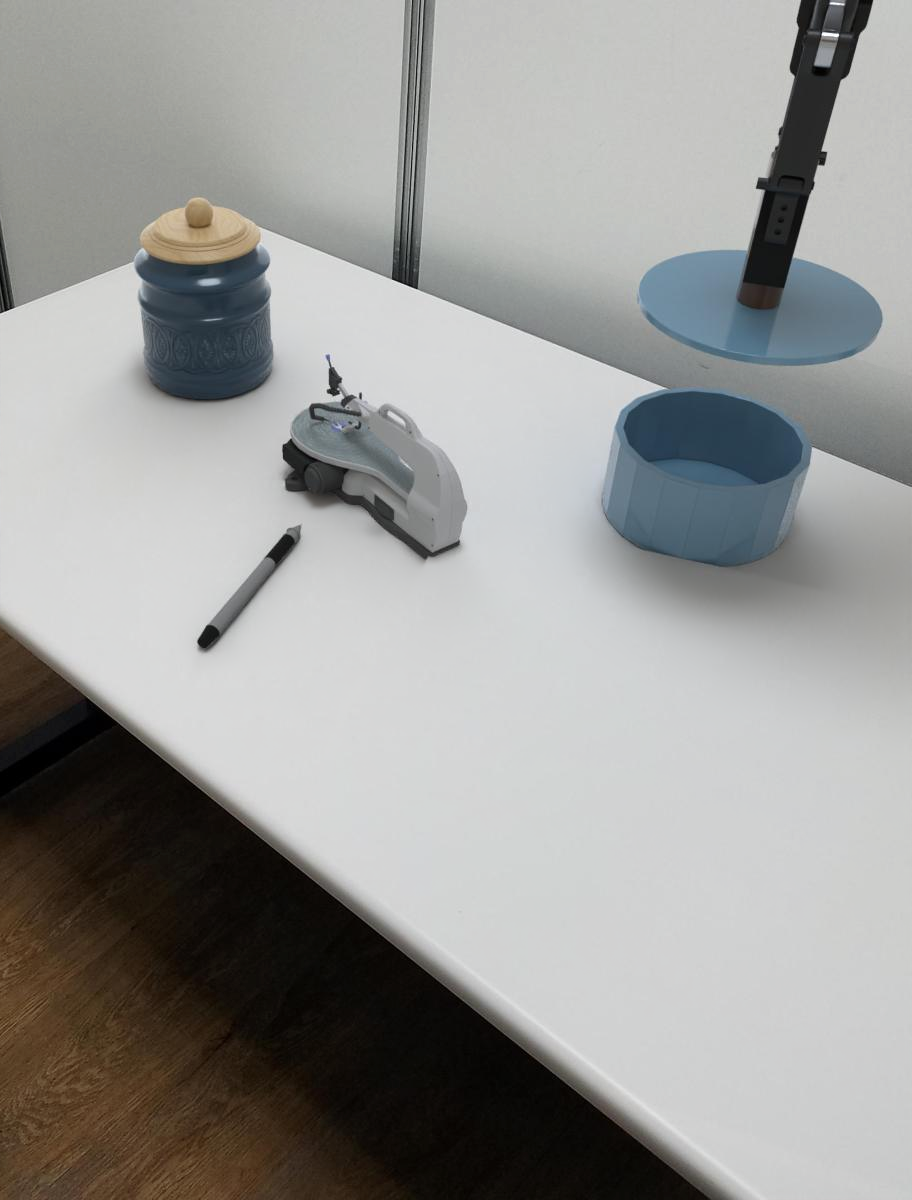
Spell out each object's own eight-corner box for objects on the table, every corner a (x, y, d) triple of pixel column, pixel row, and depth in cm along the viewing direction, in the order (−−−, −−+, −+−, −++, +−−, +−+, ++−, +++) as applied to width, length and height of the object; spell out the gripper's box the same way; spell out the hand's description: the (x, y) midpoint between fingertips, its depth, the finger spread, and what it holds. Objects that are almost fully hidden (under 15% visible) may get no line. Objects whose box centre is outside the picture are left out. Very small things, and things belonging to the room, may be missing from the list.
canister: (155, 337, 125) (138, 171, 114) (277, 339, 125) (273, 172, 113) (136, 401, 115) (116, 227, 104) (269, 403, 115) (263, 229, 103)
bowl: (794, 479, 105) (817, 406, 100) (779, 585, 94) (804, 509, 89) (619, 445, 109) (633, 373, 104) (585, 542, 98) (599, 467, 93)
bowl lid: (879, 283, 87) (930, 129, 80) (875, 393, 75) (934, 223, 68) (653, 251, 91) (682, 101, 84) (617, 349, 80) (646, 186, 73)
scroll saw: (514, 425, 92) (396, 472, 87) (501, 533, 99) (391, 582, 94) (365, 324, 105) (255, 361, 100) (363, 426, 112) (259, 465, 107)
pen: (195, 648, 89) (193, 635, 88) (295, 527, 100) (294, 515, 99) (210, 653, 88) (209, 640, 87) (308, 532, 99) (308, 519, 99)
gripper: (806, -151, 73) (722, 219, 88) (787, -101, 61) (695, 314, 77) (938, -145, 71) (828, 233, 86) (944, -91, 59) (817, 333, 75)
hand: (766, 270), depth 81 cm, fingers closed on bowl lid, 3 cm apart
